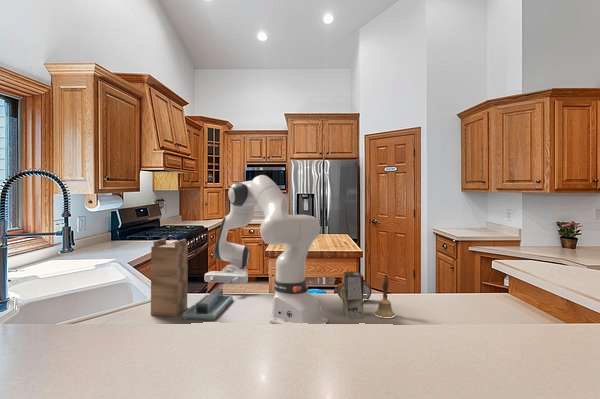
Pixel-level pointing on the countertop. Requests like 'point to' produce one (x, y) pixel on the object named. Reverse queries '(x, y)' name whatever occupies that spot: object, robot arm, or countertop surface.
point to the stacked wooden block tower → (169, 277)
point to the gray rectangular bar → (209, 301)
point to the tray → (214, 311)
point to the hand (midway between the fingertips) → (221, 281)
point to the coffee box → (353, 294)
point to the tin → (365, 290)
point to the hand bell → (385, 301)
